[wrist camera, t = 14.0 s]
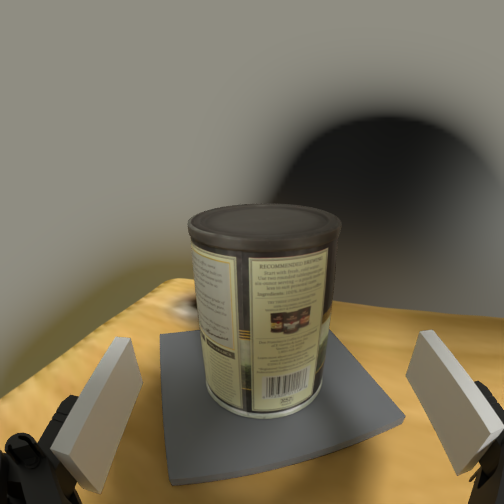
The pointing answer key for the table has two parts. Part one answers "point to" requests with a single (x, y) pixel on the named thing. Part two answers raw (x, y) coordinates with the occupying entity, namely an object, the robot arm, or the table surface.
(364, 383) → the rubber mat
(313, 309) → the coffee can
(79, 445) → the robot arm
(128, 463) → the table surface
